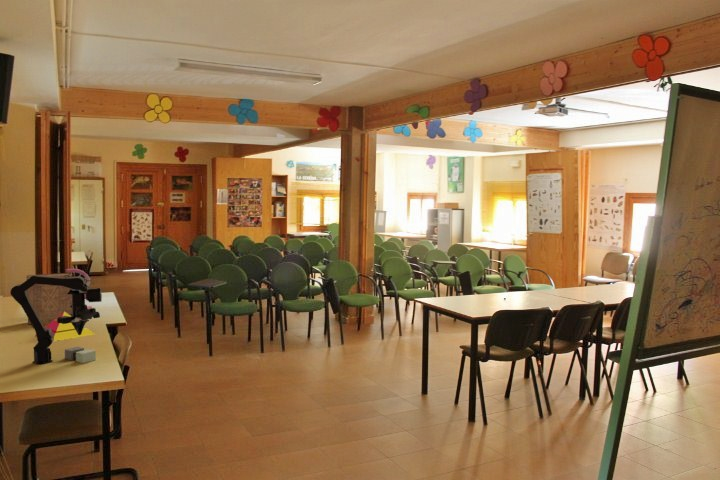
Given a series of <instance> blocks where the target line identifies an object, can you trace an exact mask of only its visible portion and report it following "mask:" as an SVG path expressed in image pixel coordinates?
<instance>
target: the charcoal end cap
mask: <svg viewBox="0 0 720 480" xmlns="http://www.w3.org/2000/svg"><path fill="white" fill-rule="evenodd" d="M83 350H85V348H84V347H80V346H73V347H69V348H66V349H64V359H65V360H68V361H69V360H70V361H74V359H73V353H76V352H79V351H83Z"/></svg>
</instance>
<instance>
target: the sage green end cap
mask: <svg viewBox="0 0 720 480" xmlns="http://www.w3.org/2000/svg"><path fill="white" fill-rule="evenodd" d="M96 355H97V354H96V350H93V349H89V348H88V349H84V350H83V351H79V352H76V359H75V361H76V362H77V363H81V364H85V363H90V362H93V361H96V357H97V356H96Z"/></svg>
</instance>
